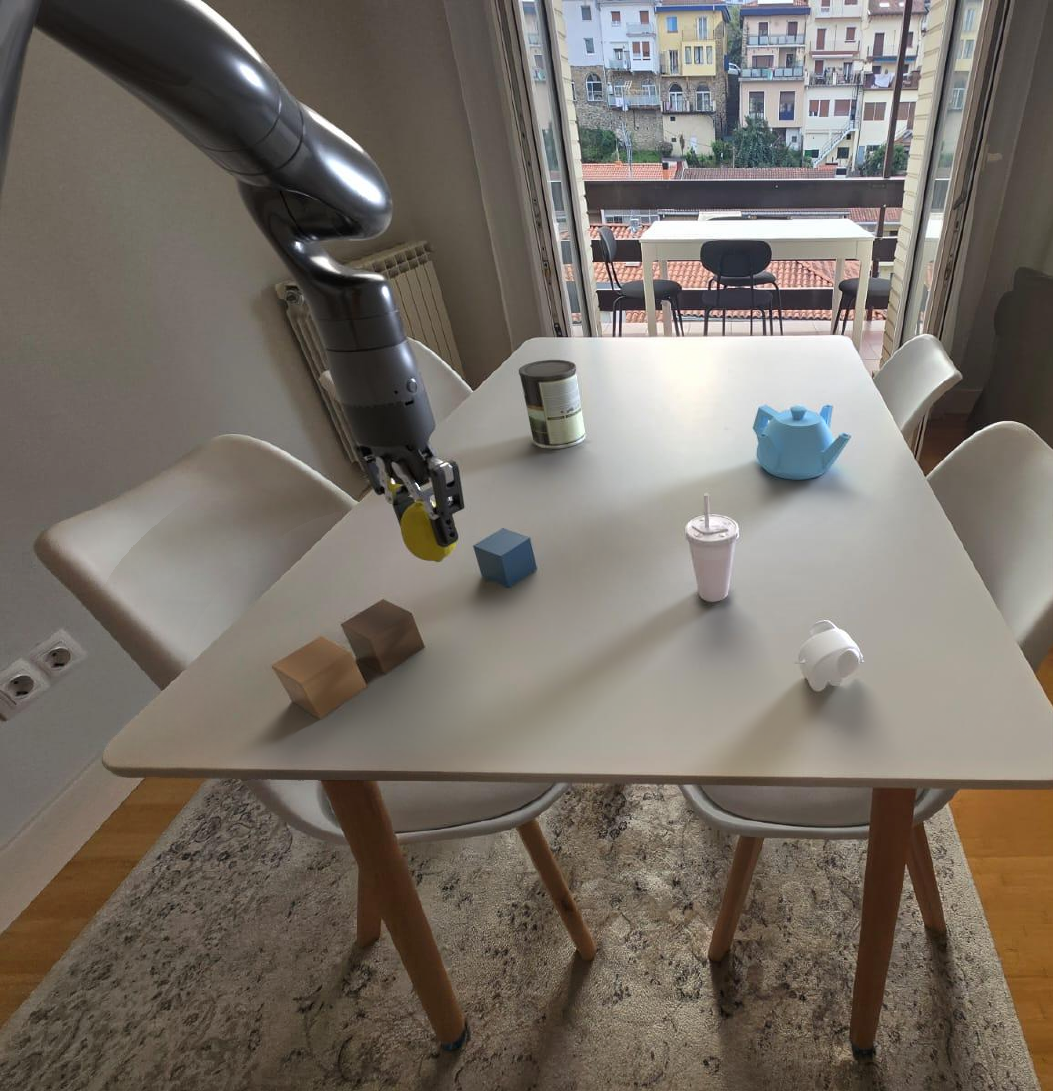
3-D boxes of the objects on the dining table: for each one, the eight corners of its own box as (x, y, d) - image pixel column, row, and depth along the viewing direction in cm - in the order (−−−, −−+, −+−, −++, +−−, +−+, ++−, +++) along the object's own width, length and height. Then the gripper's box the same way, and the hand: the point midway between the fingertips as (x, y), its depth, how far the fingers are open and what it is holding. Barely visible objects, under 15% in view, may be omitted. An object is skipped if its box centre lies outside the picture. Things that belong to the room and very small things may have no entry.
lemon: (453, 575, 67) (433, 513, 62) (404, 575, 67) (381, 513, 62) (471, 548, 71) (454, 488, 67) (426, 548, 71) (405, 488, 67)
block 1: (320, 719, 59) (299, 683, 56) (291, 700, 61) (270, 665, 58) (367, 686, 62) (350, 651, 60) (338, 670, 64) (321, 635, 62)
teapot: (831, 447, 113) (836, 391, 107) (847, 483, 100) (853, 422, 94) (751, 448, 113) (752, 393, 107) (756, 485, 100) (757, 424, 94)
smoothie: (693, 575, 78) (688, 480, 71) (741, 579, 78) (742, 483, 70) (683, 606, 73) (677, 506, 65) (735, 610, 72) (735, 510, 65)
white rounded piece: (876, 690, 61) (884, 647, 58) (806, 712, 59) (810, 668, 56) (843, 648, 67) (848, 606, 63) (778, 666, 64) (780, 624, 61)
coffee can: (524, 448, 114) (509, 375, 106) (543, 428, 122) (530, 359, 115) (576, 450, 113) (565, 376, 105) (592, 429, 121) (582, 360, 114)
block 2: (384, 674, 64) (369, 639, 61) (356, 658, 66) (340, 624, 63) (425, 646, 67) (411, 612, 65) (396, 632, 70) (383, 598, 67)
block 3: (508, 588, 76) (500, 556, 74) (481, 577, 79) (472, 545, 76) (537, 568, 80) (530, 537, 77) (510, 558, 82) (502, 527, 80)
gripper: (301, 389, 58) (360, 535, 67) (394, 414, 52) (445, 571, 61) (372, 369, 64) (418, 507, 73) (464, 389, 58) (501, 537, 67)
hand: (430, 535), depth 67 cm, fingers closed on lemon, 5 cm apart
